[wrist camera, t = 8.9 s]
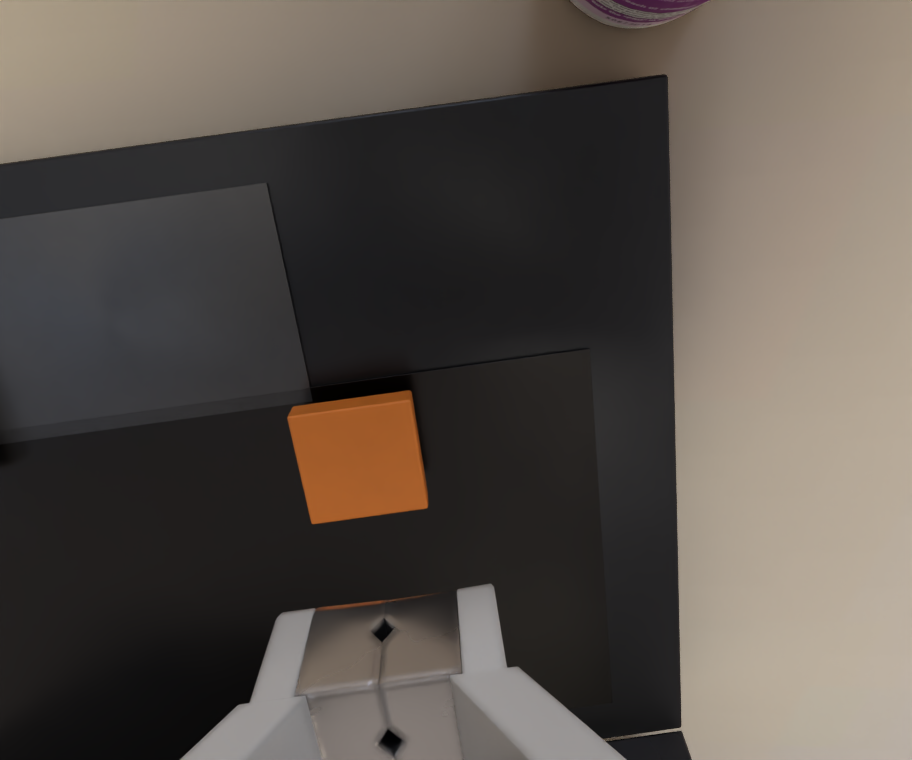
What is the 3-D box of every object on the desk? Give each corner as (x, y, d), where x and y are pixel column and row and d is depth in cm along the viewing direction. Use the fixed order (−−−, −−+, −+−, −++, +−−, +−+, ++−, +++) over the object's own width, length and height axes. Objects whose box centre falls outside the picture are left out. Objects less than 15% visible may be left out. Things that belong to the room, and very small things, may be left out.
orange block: (292, 405, 17) (286, 416, 17) (411, 389, 18) (410, 399, 17) (315, 510, 19) (311, 526, 18) (428, 495, 19) (428, 509, 18)
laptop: (-453, 230, 18) (-562, 239, 16) (642, 82, 18) (670, 73, 16) (-130, 797, 25) (-178, 853, 23) (662, 685, 25) (683, 730, 23)
